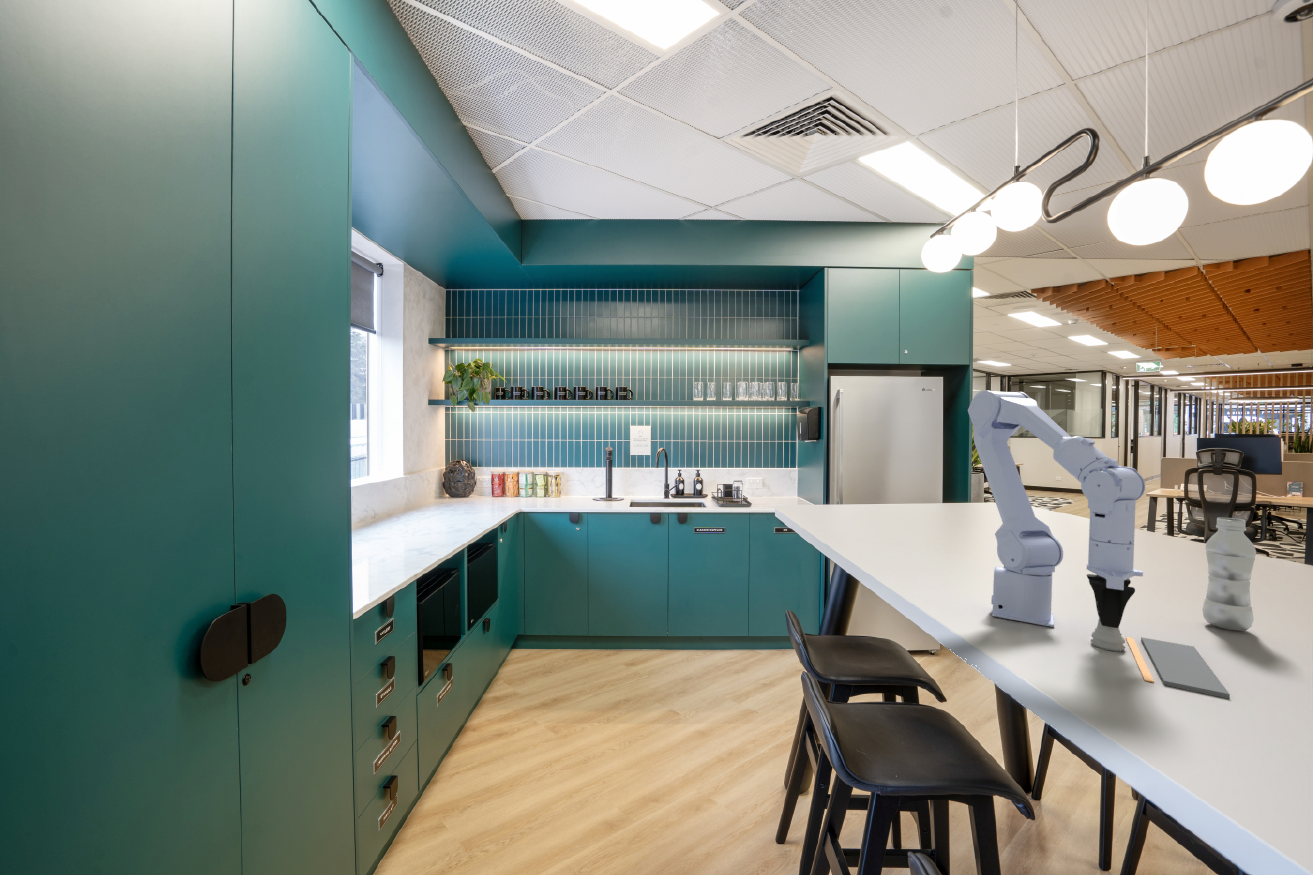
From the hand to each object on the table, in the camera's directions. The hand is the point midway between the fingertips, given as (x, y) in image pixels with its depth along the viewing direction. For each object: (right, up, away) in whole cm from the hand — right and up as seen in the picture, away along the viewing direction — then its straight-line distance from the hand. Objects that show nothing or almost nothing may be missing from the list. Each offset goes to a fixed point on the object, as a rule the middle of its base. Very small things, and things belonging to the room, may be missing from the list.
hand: (1108, 623), depth 90 cm
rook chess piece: (0, -4, 0) cm, 4 cm away
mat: (+5, -4, -7) cm, 10 cm away
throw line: (+1, -4, -4) cm, 6 cm away
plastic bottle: (+30, -5, +10) cm, 32 cm away
